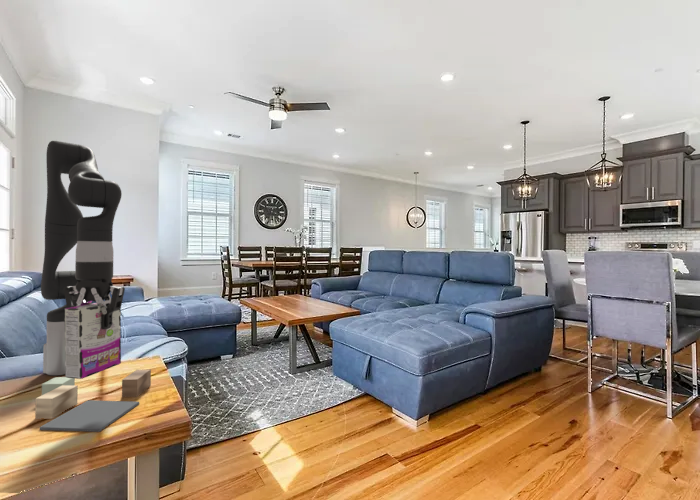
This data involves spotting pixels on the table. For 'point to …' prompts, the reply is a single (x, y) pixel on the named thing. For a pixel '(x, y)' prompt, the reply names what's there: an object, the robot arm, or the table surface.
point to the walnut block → (136, 383)
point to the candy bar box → (90, 341)
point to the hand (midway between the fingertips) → (94, 328)
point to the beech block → (56, 401)
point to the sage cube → (56, 383)
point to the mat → (90, 416)
